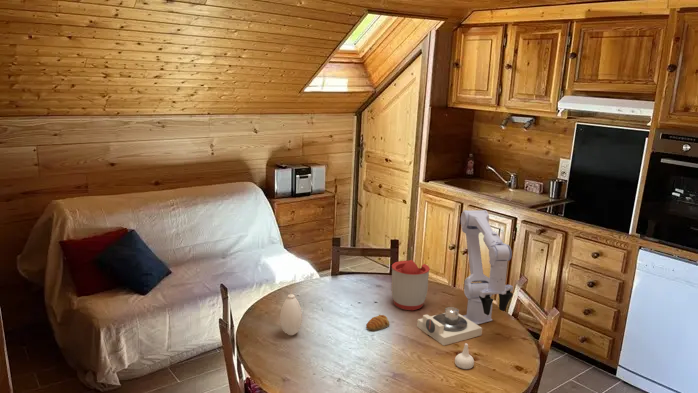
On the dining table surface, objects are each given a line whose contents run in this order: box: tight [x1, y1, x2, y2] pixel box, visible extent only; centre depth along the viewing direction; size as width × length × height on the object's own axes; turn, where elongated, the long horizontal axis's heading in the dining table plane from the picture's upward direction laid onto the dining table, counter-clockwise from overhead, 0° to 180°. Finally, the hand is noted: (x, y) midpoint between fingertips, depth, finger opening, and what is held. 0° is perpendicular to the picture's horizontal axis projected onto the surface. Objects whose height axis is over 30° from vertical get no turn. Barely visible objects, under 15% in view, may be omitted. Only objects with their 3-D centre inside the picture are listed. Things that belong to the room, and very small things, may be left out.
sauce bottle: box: [279, 288, 303, 336], centre depth 189 cm, size 8×8×18 cm
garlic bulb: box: [454, 342, 475, 370], centre depth 174 cm, size 6×6×8 cm
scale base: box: [416, 312, 483, 346], centre depth 197 cm, size 18×16×6 cm
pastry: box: [365, 314, 391, 332], centre depth 199 cm, size 9×7×4 cm
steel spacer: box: [444, 306, 460, 325], centre depth 196 cm, size 5×5×5 cm
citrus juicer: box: [390, 259, 430, 311], centre depth 218 cm, size 16×17×20 cm
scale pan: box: [433, 313, 467, 332], centre depth 197 cm, size 13×13×1 cm
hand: (494, 312), depth 191 cm, fingers open, 7 cm apart
